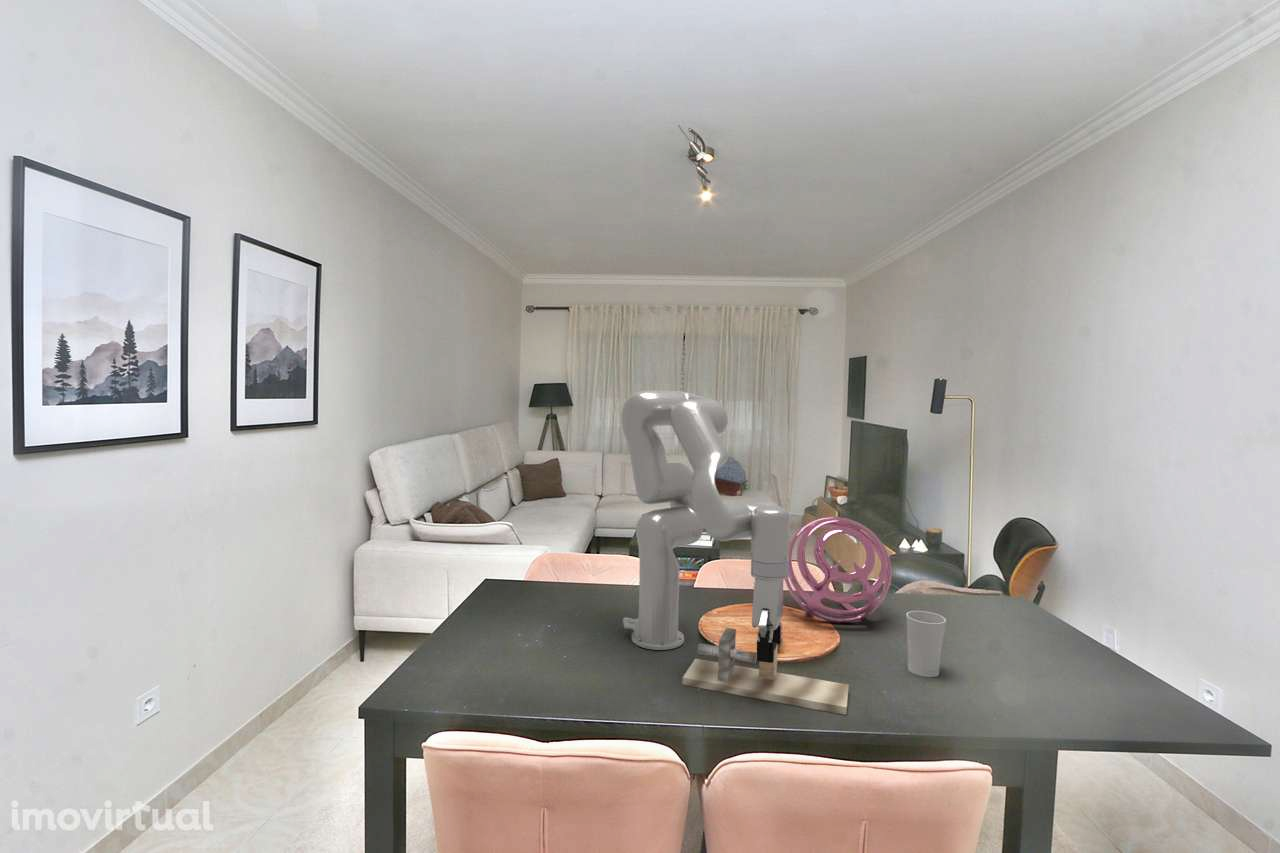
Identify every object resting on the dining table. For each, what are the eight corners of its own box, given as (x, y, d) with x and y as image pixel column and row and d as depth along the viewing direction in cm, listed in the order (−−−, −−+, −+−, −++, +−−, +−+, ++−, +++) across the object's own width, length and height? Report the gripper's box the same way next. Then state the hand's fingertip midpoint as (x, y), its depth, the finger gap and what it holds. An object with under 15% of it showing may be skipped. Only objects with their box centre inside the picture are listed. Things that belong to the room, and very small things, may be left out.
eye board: (682, 684, 131) (683, 636, 131) (695, 665, 141) (696, 620, 140) (846, 715, 120) (848, 663, 120) (848, 691, 130) (850, 643, 129)
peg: (696, 666, 133) (696, 637, 133) (700, 658, 137) (701, 631, 137) (773, 679, 128) (774, 650, 128) (776, 671, 132) (777, 642, 131)
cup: (941, 666, 143) (943, 613, 142) (945, 681, 136) (948, 625, 135) (902, 660, 146) (905, 608, 145) (904, 675, 138) (907, 620, 138)
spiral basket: (791, 526, 196) (804, 487, 172) (885, 556, 189) (912, 520, 165) (766, 613, 183) (776, 584, 160) (866, 648, 176) (892, 623, 153)
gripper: (758, 557, 138) (757, 635, 139) (743, 577, 122) (742, 666, 123) (794, 560, 136) (793, 640, 136) (783, 581, 120) (781, 672, 120)
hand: (768, 652), depth 130 cm, fingers open, 9 cm apart
